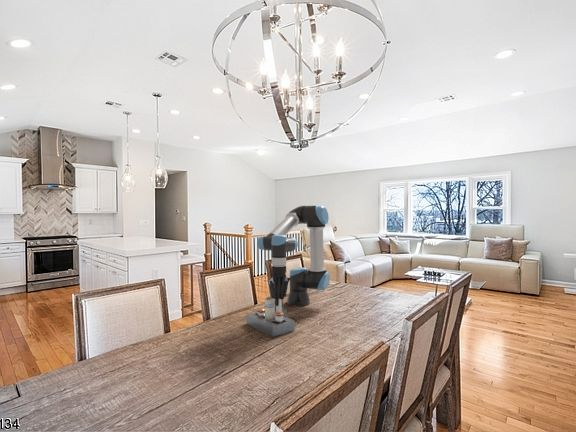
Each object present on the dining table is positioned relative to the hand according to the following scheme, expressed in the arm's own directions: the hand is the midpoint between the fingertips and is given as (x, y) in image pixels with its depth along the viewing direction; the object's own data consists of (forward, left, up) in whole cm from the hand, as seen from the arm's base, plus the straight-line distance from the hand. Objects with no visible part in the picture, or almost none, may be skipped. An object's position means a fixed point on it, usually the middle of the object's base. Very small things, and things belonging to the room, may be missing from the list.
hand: (278, 311), depth 163 cm
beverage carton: (-15, -22, -11) cm, 29 cm away
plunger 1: (0, -16, -10) cm, 19 cm away
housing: (0, -8, -10) cm, 13 cm away
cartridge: (0, -8, -10) cm, 13 cm away
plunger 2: (0, 0, -7) cm, 7 cm away
